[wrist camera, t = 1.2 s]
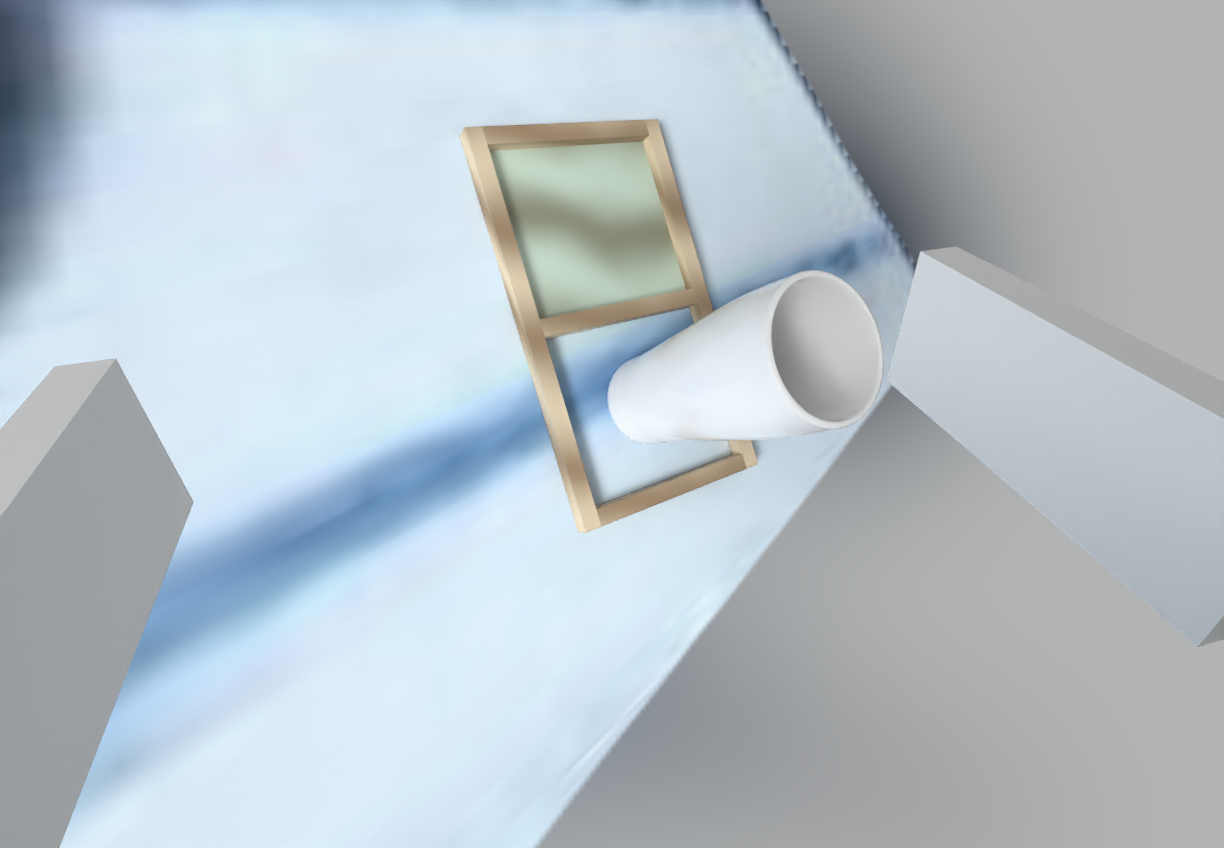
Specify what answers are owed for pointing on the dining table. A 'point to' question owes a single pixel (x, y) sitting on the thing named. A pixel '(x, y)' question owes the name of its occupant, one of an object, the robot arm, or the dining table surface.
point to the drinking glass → (757, 368)
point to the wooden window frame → (589, 263)
